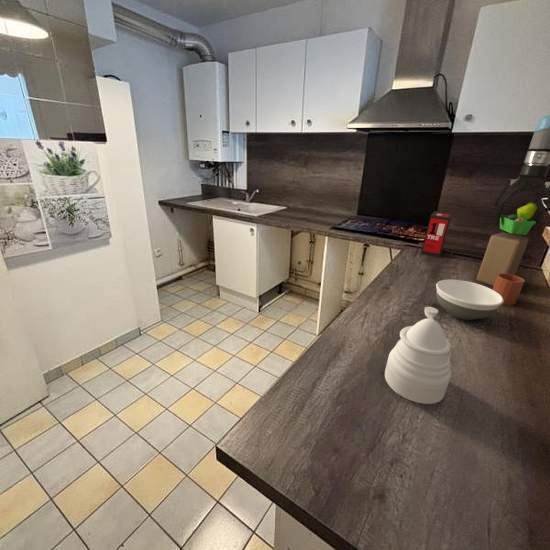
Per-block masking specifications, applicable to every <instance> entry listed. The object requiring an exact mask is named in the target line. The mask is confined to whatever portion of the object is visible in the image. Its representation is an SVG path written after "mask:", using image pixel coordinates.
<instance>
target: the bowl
mask: <svg viewBox="0 0 550 550" xmlns="http://www.w3.org/2000/svg"><path fill="white" fill-rule="evenodd" d="M435 287H436V293H435V297H436V300H437V302H438V304H439V305H440V306H441V307H442V308H443V309H444V310H445V311H447V313H448V314H449V315H451V316H453V317H455V318H457V319H461V320H464V321H473V320H481V319H484V318H489V317H491V316H492V315H493V314H495V313H496V312H497V310H498V308H499V307H500V306H501V305H503V304H502V303H503V298H502V296H501V295H500V294H498V293H497V292H496V291H494V290H492V288H490V287H488V286H485V285H482V284H479V283H475V282H472V281H468V280H462V279H442V280H439V281H437V283H436V284H435Z"/></svg>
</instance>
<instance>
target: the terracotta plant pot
mask: <svg viewBox="0 0 550 550" xmlns="http://www.w3.org/2000/svg"><path fill="white" fill-rule="evenodd" d="M525 282H526V281H525V278H523V277H522V276H521V277H520V276H518V275H516V274H515V275H511V274H505V273H500V274H498V275H497V277H496V280H495V283H494V286H492V288H491V289H492V290H494V291H496V292H497V293H498V294H500V295H501V296H502V298H503V303H502V304H501V305H506V306H513V305H516V303H517V301H518V298H519V296H520V293H521V291H522V289H523V287H524V284H525Z"/></svg>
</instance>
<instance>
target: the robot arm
mask: <svg viewBox="0 0 550 550" xmlns="http://www.w3.org/2000/svg"><path fill="white" fill-rule="evenodd" d="M531 138H532V139H531V141H530V144H529V147H528V150H527V152H526V155H525V158H524V160H523V163H524V164H522V166H521V170H520V173H519V175H518V177H517V178H515V179H511V178H508V179H506V182H505V186H504V187H503V189H502V190H501V191H500V193H499V194H498V195H497V197H496V198H495V200H494V201H493V203H492V204H493V205H494V206H496V207H497V208H496V211H495V216H498V217H497V219H496V222H495V225H500V218H501V215H503V213H504V209H505V207H504V205H505V204H506V203H507V202H509V201H510V200H511V199H512V198H513V197H515V195H516V194H518V193H519V192H523V193H526V192H528V193H534V195H535V199H536V201H537V206H538V209H539V210H536V211H535V214H534V218H533V219H532V221H535V222H536V223H537V221H538V222H540V221H542V218H543V217H544V214H545V213H547V212H550V181H546V178H547V175H548V173H549V171H550V166H549V165H550V115H549V114H548V115H543V116H541V117H540V118H539V120H538V121H537V124H536V127H535V128H534V130H533V135H532V137H531ZM513 184H515V185H516V188H515V189H514V190H513V191H512V192H510V194H509V195H508V196H506V197H505V198H504V199H503V200H502V201H500V200H501V199H502V198H503V196H504V195H505V194H506V192H507V190H508V189H509V187H510V186H512V185H513ZM543 186H545V188H546V189H547V202H546V204H547V205H546V207H545V206H544V203H543V200H542V197H541V194H540V190H539V189H540V188H542V187H543ZM536 223H535V224H534V225H533V226H532V228H531V229H530V230H531V231H532V230H534V228H535V226H536Z"/></svg>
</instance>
